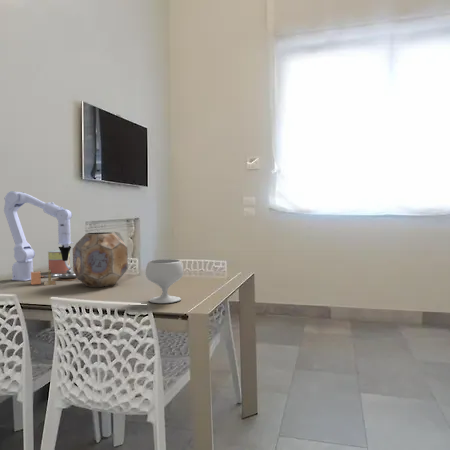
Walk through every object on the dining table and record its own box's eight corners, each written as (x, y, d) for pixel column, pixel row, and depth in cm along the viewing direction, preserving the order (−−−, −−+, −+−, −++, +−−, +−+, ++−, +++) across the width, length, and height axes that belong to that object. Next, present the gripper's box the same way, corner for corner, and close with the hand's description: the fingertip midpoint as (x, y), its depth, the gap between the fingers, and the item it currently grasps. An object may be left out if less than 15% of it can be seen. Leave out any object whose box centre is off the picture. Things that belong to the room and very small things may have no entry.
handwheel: (75, 278, 212) (74, 270, 212) (54, 278, 212) (54, 270, 212) (82, 275, 222) (81, 267, 222) (62, 275, 222) (62, 267, 222)
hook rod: (31, 284, 200) (30, 272, 199) (31, 283, 204) (31, 271, 203) (61, 282, 205) (61, 271, 204) (61, 281, 208) (61, 269, 208)
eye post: (43, 285, 199) (43, 272, 199) (44, 282, 208) (43, 269, 208) (55, 284, 201) (55, 271, 201) (55, 281, 210) (55, 268, 210)
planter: (63, 288, 191) (61, 234, 190) (97, 279, 214) (96, 231, 213) (105, 290, 184) (104, 235, 183) (136, 281, 207) (135, 231, 206)
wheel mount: (52, 279, 214) (52, 278, 214) (68, 276, 225) (68, 275, 225) (69, 281, 210) (69, 279, 210) (85, 277, 220) (85, 276, 220)
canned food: (65, 273, 234) (65, 251, 234) (45, 274, 234) (44, 252, 234) (73, 270, 245) (72, 249, 245) (53, 271, 246) (53, 250, 245)
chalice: (138, 303, 159) (138, 262, 158) (158, 296, 172) (157, 258, 171) (172, 306, 154) (172, 264, 153) (189, 298, 167) (189, 259, 166)
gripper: (74, 233, 210) (75, 261, 210) (71, 232, 223) (71, 258, 223) (59, 234, 207) (60, 262, 207) (56, 232, 220) (57, 259, 220)
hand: (65, 260), depth 215 cm, fingers closed
